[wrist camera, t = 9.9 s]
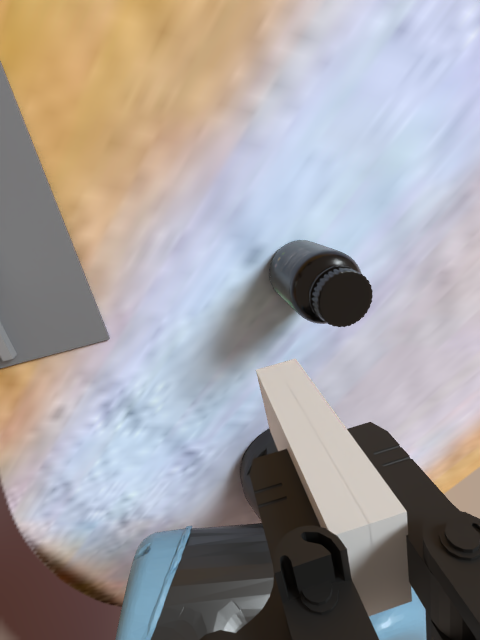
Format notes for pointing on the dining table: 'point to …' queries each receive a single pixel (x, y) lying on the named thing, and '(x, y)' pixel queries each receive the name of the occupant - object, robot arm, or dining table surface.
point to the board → (36, 255)
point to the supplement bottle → (320, 283)
